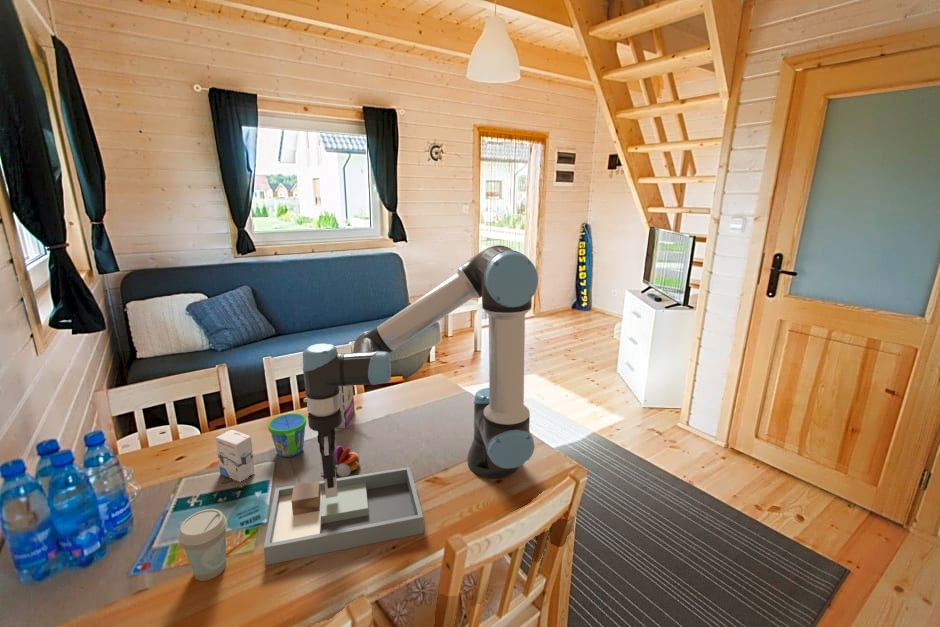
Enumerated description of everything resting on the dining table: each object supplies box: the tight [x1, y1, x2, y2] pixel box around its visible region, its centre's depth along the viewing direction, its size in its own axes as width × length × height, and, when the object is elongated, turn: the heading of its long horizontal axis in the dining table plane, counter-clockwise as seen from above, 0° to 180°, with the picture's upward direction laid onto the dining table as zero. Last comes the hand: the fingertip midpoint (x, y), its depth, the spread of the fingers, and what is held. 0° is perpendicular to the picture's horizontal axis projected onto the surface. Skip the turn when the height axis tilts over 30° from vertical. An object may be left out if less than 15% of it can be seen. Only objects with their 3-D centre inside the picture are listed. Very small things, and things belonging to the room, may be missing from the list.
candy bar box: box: [335, 385, 356, 430], centre depth 150 cm, size 11×5×16 cm, turn 179°
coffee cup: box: [178, 508, 228, 582], centre depth 91 cm, size 8×8×12 cm
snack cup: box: [267, 412, 307, 458], centre depth 133 cm, size 16×10×10 cm
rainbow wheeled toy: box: [334, 445, 360, 478], centre depth 125 cm, size 8×10×7 cm
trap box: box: [263, 466, 425, 566], centre depth 107 cm, size 34×20×4 cm, turn 106°
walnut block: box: [291, 480, 320, 515], centre depth 107 cm, size 6×6×4 cm
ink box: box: [215, 429, 255, 483], centre depth 122 cm, size 9×5×12 cm, turn 65°
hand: (331, 495), depth 109 cm, fingers closed
